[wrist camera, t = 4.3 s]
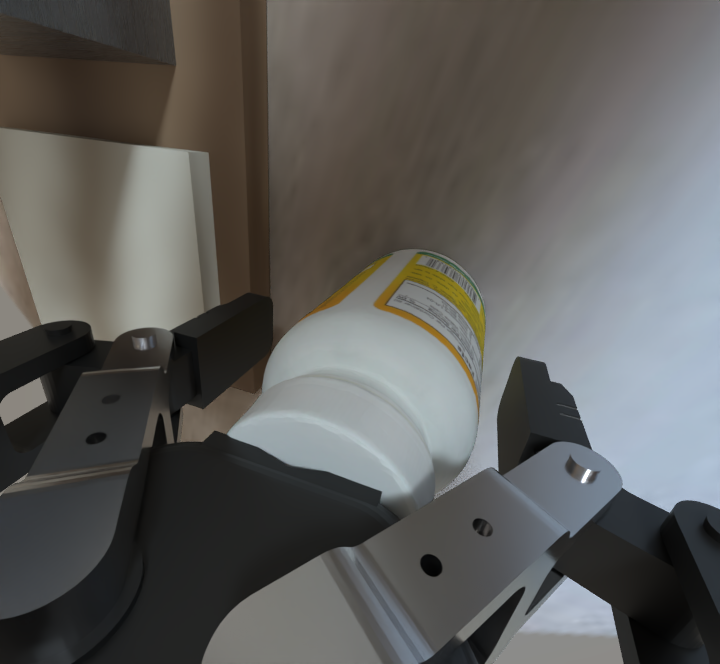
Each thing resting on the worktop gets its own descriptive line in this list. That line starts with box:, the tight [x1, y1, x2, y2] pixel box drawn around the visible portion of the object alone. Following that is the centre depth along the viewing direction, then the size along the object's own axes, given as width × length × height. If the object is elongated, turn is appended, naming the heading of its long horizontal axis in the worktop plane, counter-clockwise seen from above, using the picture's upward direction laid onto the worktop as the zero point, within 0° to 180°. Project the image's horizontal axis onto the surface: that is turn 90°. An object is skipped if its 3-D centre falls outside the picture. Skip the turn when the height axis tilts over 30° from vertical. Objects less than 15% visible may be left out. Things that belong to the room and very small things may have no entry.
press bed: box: [0, 0, 271, 393], centre depth 14 cm, size 13×22×2 cm, turn 174°
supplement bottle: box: [226, 249, 486, 520], centre depth 11 cm, size 5×5×10 cm
